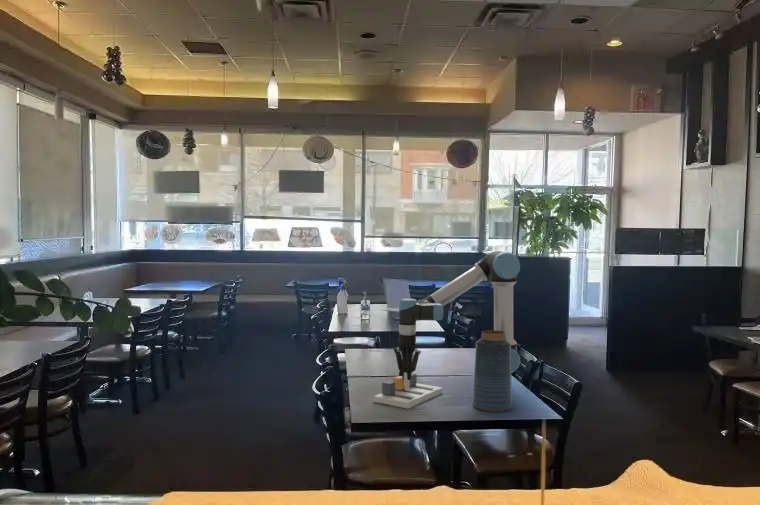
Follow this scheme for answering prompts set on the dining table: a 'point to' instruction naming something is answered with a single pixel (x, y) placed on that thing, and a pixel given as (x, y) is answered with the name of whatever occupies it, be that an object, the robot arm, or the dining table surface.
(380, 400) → the panel board
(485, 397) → the vase
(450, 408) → the dining table surface
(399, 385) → the breaker toggle
